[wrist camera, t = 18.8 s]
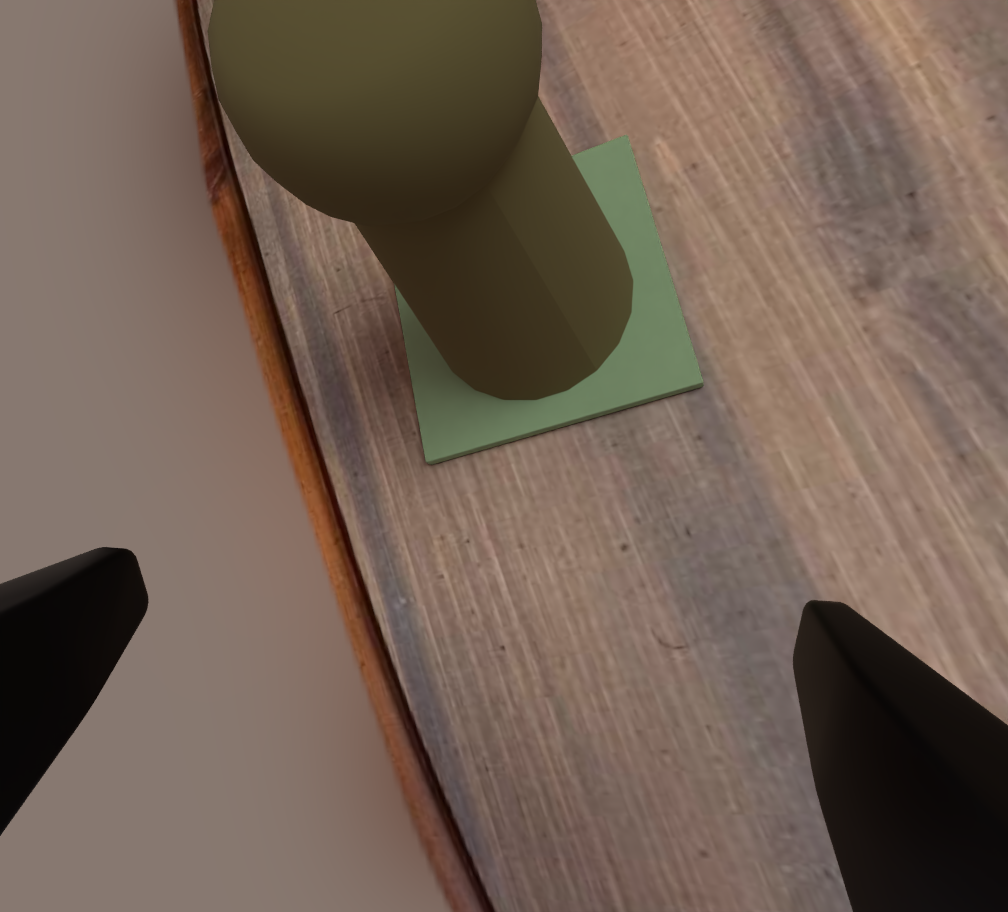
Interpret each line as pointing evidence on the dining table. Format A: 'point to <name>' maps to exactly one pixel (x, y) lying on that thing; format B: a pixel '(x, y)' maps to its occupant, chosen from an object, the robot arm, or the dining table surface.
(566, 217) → the olive pawn
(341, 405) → the dining table surface
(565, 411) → the coaster
